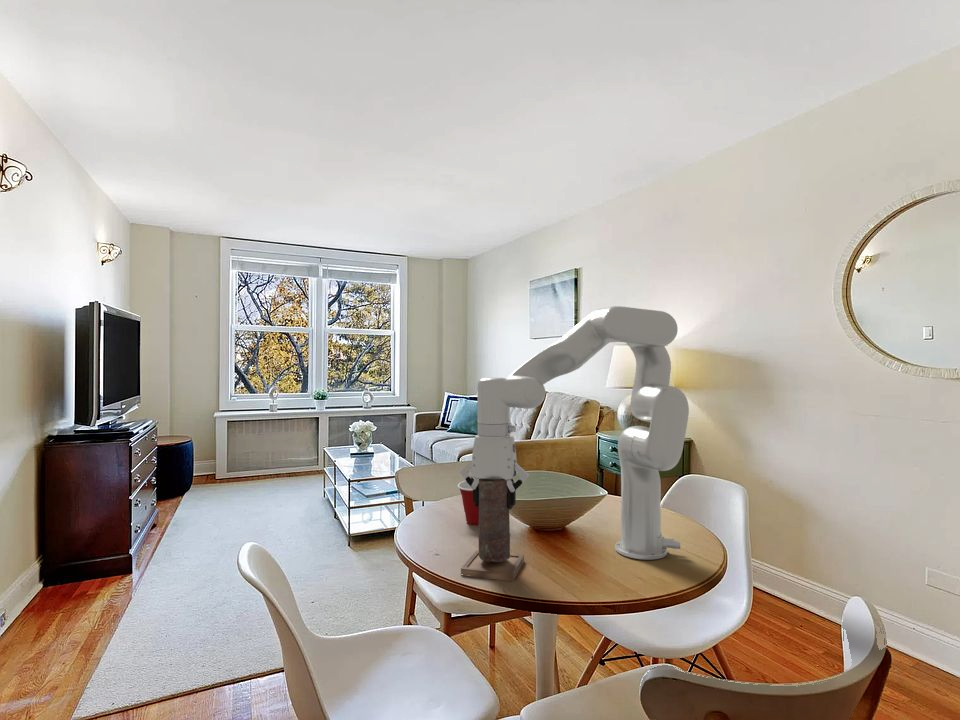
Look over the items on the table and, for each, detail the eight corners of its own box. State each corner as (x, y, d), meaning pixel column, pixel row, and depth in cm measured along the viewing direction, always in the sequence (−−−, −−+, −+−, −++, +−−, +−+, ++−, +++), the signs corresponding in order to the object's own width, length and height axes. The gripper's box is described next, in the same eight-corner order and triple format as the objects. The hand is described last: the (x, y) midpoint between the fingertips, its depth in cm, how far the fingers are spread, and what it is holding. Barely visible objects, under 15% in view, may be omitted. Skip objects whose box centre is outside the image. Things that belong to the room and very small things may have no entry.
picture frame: (523, 561, 128) (523, 555, 128) (512, 581, 117) (512, 574, 117) (476, 556, 132) (476, 550, 132) (460, 575, 120) (460, 568, 120)
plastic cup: (450, 522, 159) (450, 482, 159) (477, 515, 166) (477, 477, 167) (474, 531, 151) (474, 488, 151) (501, 523, 158) (501, 483, 158)
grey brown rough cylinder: (512, 566, 121) (511, 478, 121) (479, 567, 120) (478, 479, 120) (508, 554, 128) (506, 471, 128) (477, 555, 128) (476, 472, 128)
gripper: (533, 429, 125) (534, 505, 125) (463, 427, 130) (463, 500, 130) (527, 433, 118) (527, 514, 118) (453, 431, 123) (453, 508, 123)
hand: (494, 506), depth 124 cm, fingers closed on grey brown rough cylinder, 7 cm apart
